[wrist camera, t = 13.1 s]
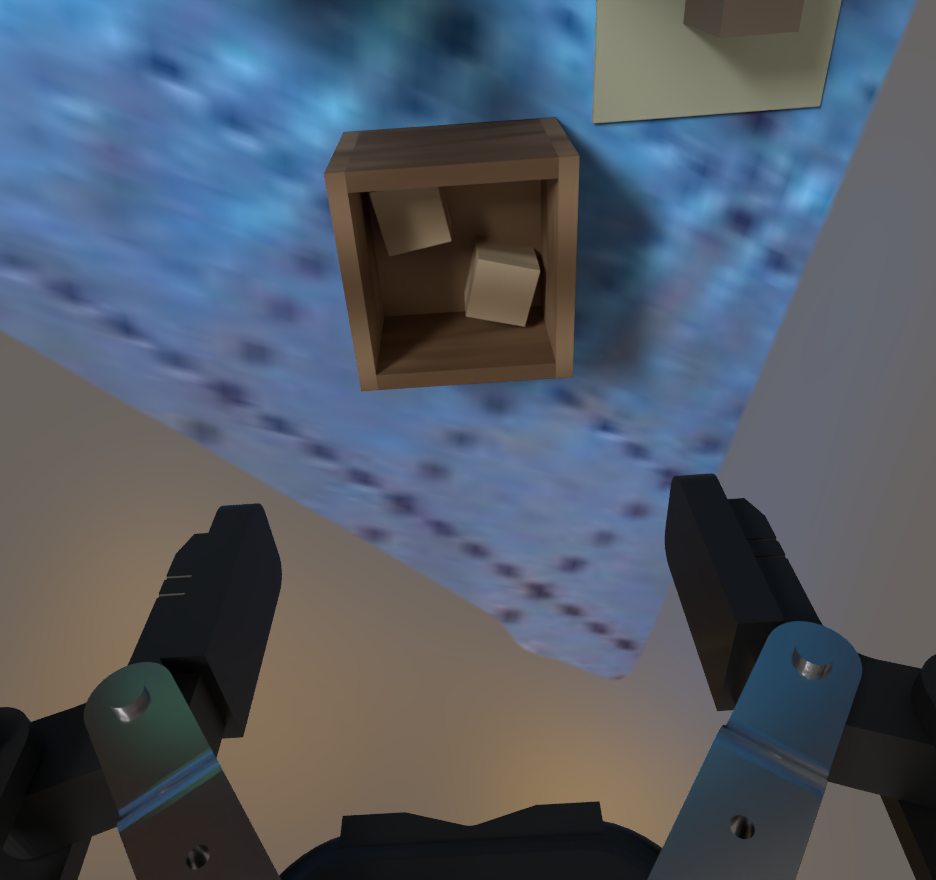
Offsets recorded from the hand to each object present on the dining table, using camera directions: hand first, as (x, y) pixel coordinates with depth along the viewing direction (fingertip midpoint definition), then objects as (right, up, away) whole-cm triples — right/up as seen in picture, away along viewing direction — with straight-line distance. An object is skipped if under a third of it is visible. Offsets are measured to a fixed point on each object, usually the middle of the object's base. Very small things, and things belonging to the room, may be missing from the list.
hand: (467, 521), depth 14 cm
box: (-1, +12, +22) cm, 26 cm away
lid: (+11, +22, +17) cm, 29 cm away
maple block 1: (-3, +13, +20) cm, 25 cm away
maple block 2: (+2, +10, +23) cm, 25 cm away
